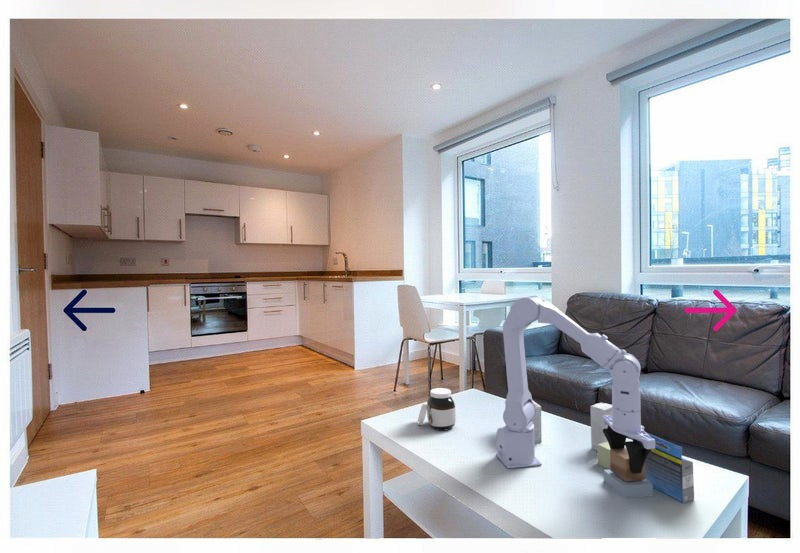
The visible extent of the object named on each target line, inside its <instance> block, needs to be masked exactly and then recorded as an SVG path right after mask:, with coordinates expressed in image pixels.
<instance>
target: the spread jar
mask: <svg viewBox="0 0 800 553" xmlns="http://www.w3.org/2000/svg"><path fill="white" fill-rule="evenodd" d="M426 402H427V403H425V404H424V403H422V405H421V407H420V411H419V414H418V418H417V423H418V422H419V423H418V424H417V425H418V426H421V425H422V426H423V425H424V422H425V418H426V415H427V422H428V424H429V426H430V427H431V428H432V427H433V428H434V429H433V428H432V429H433V430H436V429H439V430H438V431H446V430H445V429H448V430H450V429H452V428H453V427H454V426H455V424H456V422H457V421H456V420H457V417H456V416H457V415H456V412H457V411H456V404H455V401H454V400H453V397H452V391H451V389H449V388H447V387H445V388H444V387H436V388H432V389H430V396H429V397H428V399H427V401H426Z"/></svg>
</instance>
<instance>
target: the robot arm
mask: <svg viewBox="0 0 800 553" xmlns="http://www.w3.org/2000/svg"><path fill="white" fill-rule="evenodd" d="M536 321H537V323H538V324H549V325H553V326H554V327H556V328H557V329H558V330H560V331H561V332H563V333H564V334H566V335H567V336H568V337H570V338H571V339H573V340H575V341H576V342H577V343H579V344H580V347H581V352H582V353H584V354H585V356H588V358H591V360H593V361H594V362H595V363H597V364H598V365H600V367H602V368H603V369H605V370H608V371H609V373H610V376H611V378H612V386H611V395H612V396H611V405H612V416H609V415H606V416H602V424H604V425H608V427H607V429H603V433H604V435H605V437H606V439H607V441H608V443H609V446H610V449H620V448H625V447H626V449H627V451H628V455H629V463H630V470H631V472H632V473H633V474H636V473H641V471H642V468H643V465H644V462H645V459H646V457H647V455H648V454H649V452H650V451H651V450H652V449H655V439H653V438H651V437H650V436H649V435H648V434H647V433H648V432H646V431H645V426H644V425H642V412H641V408H642V407H641V406H642V405H641V404H642V402H641V400H642V399H641V398H642V397H641V389H640V386H641V383H640V377H641V371H642V370H641V369H642V368H641V366H642V365H641V364H640V362H639V359H638V358H637V357H635V355H634V354H631V353H627V351H626V350H625V349H623V348H622V349H620V348H619V347H617V345H615V344H613V343H612V342H611V341H609V340H608V338H609V337H608V336H607V335H605V334H602V335H601V334H599V333H598V332H594V333H593V332H592V333H590V332H588V331H587V330H586V329H584V328H583V327H581V326H580V325H579V324H578V323H577V322H575V321H574V320H573V319H571V318H570V317H569V316H568V315H566V313H564V312H563V311H562V310H560V309H559V308H557V306H555V305H553V304H552V303H551V302H549V301H546V300H545V299H544V298H542V297H541V296H539V295H532V296H528V297H522V298H520V299H518V300H516V301H515V302H514V303H513V304H512V305H511V306H509V312H508V314H507V315H506V318H505V320H504V322H503V324H502V335H503V347H504V359H505V369H506V380H507V394H506V398H505V401H504V402H505V408H504V411H503V413H502V419H503V420H502V421H503V422H504V424H505V426H503V427H499V428H497V430H496V453H495V455H496V456H497V458H498V459H499V460H500V461H501V463H502V464H503V465H504V466H505V467H506V468H507V469H514V468H515V469H516V468H526V467H534V466H535V467H536V466H541V465H542V462H541V461H540V459H538V458H537V457H536V454H535V453H536V449H535V447H536V446H535V444H536V443H535V441H534V424H533V421H532V419H533V418H534V417H535V415H536V406H535V404H534V403H533V401H534V400H533V397H532V393H531V392H530V390H529V383H528V374H527V361H526V352H525V350H526V349H525V340H524V331H525V330H527V329H528V327H529V326H531V324H532V323H534V322H536ZM532 400H533V401H532ZM627 437H628V438H629V439H632V440H631V441H629V440H628V441H627Z"/></svg>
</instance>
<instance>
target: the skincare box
mask: <svg viewBox="0 0 800 553" xmlns="http://www.w3.org/2000/svg"><path fill="white" fill-rule="evenodd" d="M606 415H609V416H612V404H609V403H605V402H599V403H595V404H593V405H590V441H591V442H590V444H591V446H590V447H591V449H593V450H595V451H597V452H598V444H600V443H604V442H608V441H607V439H606V437H605V435H604V433H603V429H607V427H608V425H604V424H602V416H606Z"/></svg>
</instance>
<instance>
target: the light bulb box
mask: <svg viewBox="0 0 800 553" xmlns="http://www.w3.org/2000/svg"><path fill="white" fill-rule="evenodd" d="M532 401H533V403H534V404H535V406H536V415H535V417H534V418H533V419H532V421H533V424H534V441H535V444H540V443H542V439H543V438H542V406H541V405H540V404H538V403H537V402H535V401H534V400H533V399H532Z"/></svg>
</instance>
